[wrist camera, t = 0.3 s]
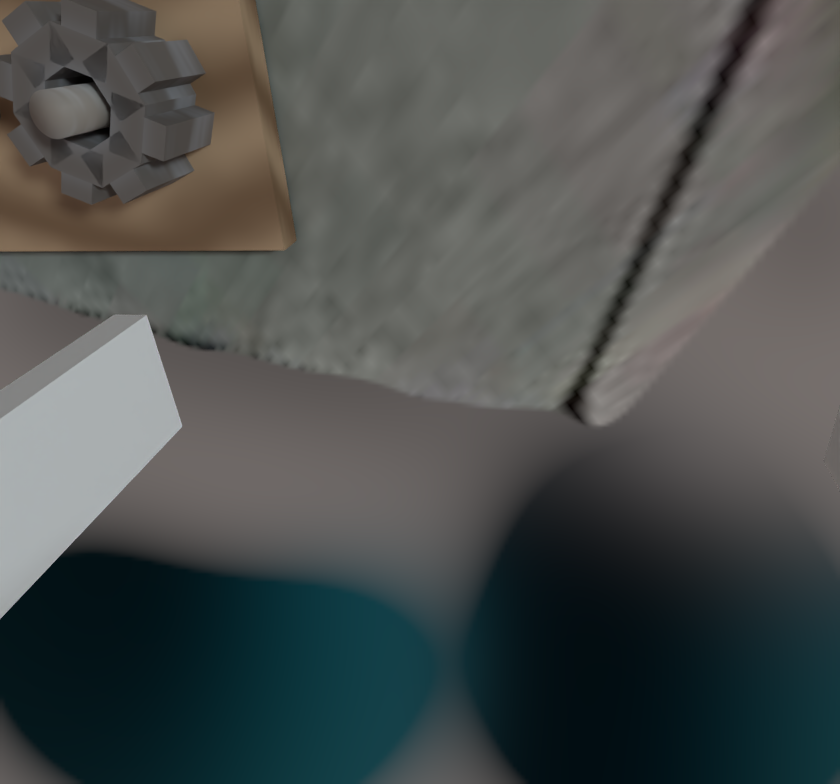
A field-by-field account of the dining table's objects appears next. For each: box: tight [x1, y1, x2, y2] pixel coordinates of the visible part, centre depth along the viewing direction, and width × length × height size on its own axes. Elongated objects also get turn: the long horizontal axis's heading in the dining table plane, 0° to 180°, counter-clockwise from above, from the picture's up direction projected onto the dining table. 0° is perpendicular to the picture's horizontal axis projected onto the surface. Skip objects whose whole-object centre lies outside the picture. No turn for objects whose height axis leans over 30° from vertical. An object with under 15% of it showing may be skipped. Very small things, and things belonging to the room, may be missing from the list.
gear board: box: [0, 0, 297, 251], centre depth 36 cm, size 18×26×9 cm
